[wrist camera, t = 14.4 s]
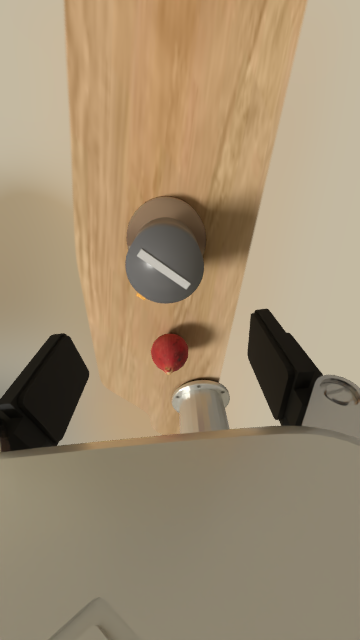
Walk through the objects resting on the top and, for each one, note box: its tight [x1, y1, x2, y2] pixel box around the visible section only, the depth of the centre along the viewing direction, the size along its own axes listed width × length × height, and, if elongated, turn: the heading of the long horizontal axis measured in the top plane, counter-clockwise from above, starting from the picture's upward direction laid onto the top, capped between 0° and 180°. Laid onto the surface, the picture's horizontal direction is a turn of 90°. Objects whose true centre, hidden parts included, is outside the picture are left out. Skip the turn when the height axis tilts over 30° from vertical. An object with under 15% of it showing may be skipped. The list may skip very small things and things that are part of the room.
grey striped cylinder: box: [126, 217, 204, 303], centre depth 20 cm, size 7×8×5 cm
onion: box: [151, 334, 188, 375], centre depth 32 cm, size 6×6×8 cm
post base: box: [127, 196, 206, 257], centre depth 24 cm, size 10×10×5 cm
